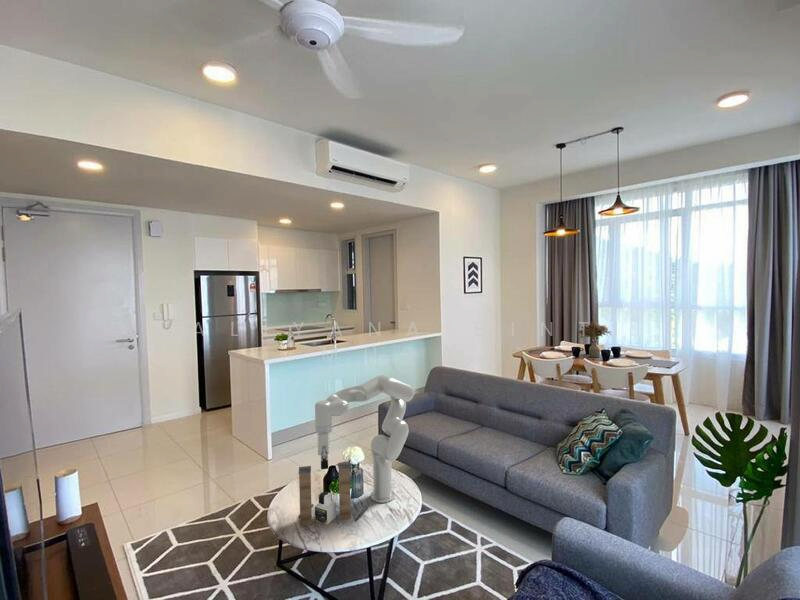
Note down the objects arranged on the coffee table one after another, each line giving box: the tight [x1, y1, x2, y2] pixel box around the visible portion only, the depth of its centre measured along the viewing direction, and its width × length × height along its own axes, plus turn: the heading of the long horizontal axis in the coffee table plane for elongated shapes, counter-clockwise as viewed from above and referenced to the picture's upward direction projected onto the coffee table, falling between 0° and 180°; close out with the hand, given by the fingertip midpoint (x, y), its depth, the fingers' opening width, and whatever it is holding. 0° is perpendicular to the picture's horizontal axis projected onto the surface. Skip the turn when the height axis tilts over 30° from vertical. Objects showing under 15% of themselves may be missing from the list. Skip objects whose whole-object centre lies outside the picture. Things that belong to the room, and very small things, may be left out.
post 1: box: [298, 465, 313, 526], centre depth 177 cm, size 5×5×25 cm
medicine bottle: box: [314, 491, 337, 526], centre depth 179 cm, size 7×7×12 cm
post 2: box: [337, 461, 352, 521], centre depth 181 cm, size 5×5×25 cm
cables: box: [298, 503, 368, 521], centre depth 184 cm, size 11×31×1 cm, turn 85°
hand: (324, 464), depth 179 cm, fingers open, 9 cm apart
